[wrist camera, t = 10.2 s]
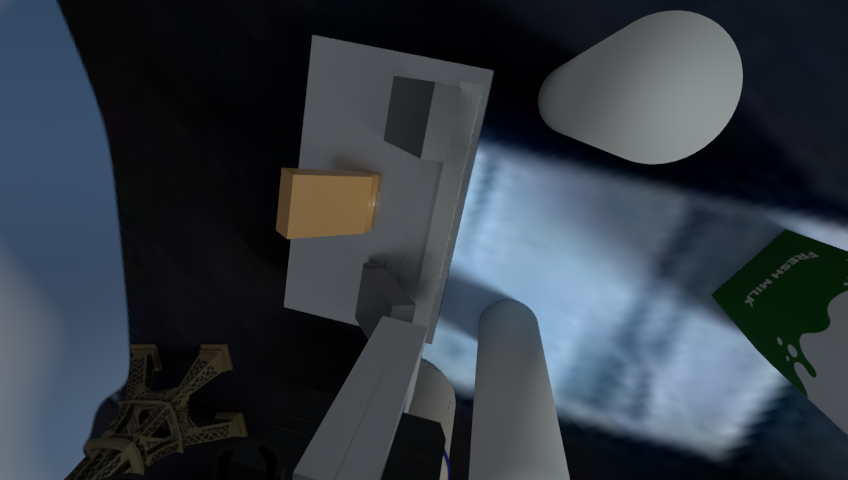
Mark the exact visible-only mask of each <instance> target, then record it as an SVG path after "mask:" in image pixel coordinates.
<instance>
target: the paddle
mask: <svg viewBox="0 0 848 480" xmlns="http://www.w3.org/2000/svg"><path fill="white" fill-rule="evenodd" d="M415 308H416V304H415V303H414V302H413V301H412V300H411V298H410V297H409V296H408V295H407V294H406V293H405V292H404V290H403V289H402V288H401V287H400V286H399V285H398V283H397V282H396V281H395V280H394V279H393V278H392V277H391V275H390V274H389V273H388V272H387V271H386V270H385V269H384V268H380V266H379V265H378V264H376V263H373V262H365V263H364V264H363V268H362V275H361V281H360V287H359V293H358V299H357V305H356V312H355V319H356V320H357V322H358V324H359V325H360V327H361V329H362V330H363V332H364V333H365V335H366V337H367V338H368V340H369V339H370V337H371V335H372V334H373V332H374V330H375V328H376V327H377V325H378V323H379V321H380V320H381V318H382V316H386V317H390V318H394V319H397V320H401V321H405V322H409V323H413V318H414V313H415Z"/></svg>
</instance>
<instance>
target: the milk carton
mask: <svg viewBox="0 0 848 480" xmlns="http://www.w3.org/2000/svg"><path fill="white" fill-rule="evenodd" d="M712 297H713V298H714V299H715V300H716V301H717V303H718V304H719V305H720V306H721V307H722V308H723V310H724V311H725V312H726V313H727V314H728V316H729V317H730V318H731V319H732V320H733V322H734V323H735V324H736V325H737V326H738V328H739V329H740V330H741V331H742V332H743V334H744V335H745V336H746V337H747V339H748V340H749V341H750V342H751V343H752V345H753V346H754V347H755V348H756V349H757V350H758V351H759V352H760V353H761V354H762V355H763V356H764V357H765V358H766V359H767V360H768V361H769V362H770V363H771V364H772V365H773V366H774V367H775V368H776V369H777V370H778V371H779V372H780V373H781V374H782V375H783V376H785V377H786V378H787V379H788V380H789V381H790V382H791V383H792V384H793V385H794V386H795V387H796V388H797V389H798V390H800V391H801V392H802V393H803V394H804V395H805V396H806V397H807V398H808V399H809V400H810V401H811V402H812V403H814V404H815V405H816V406H817V407H818V408H819V409H820V410H821V411H822V412H823V413H824V414H825V415H827V416H828V417H829V418H830V419H831V420H832V421H833V422H834V423H835V424H836V425H837V426H838V427H839V428H841V429H842V430H843V431H844V432H845V433H846V434H848V251H845V250H842V249H839V248H837V247H834V246H831V245H828V244H825V243H823V242H820V241H817V240H814V239H811V238H809V237H806V236H803V235H800V234H797V233H795V232H792V231H789V230H787V229H786V230H785V231H784V232H783V233H781V234H780V235H779V236H778V237H777V238H776V239H775V240H773V241H772V242H771V243H770V244H769V245H768V246H767V247H766V248H764V249H763V250H762V251H761V252H760V253H759V254H758V255H756V256H755V257H754V258H753V259H752V260H751V261H750V262H748V263H747V264H746V265H745V266H744V267H743V268H742V269H741V270H739V271H738V272H737V273H736V274H735V275H734V276H733V277H731V278H730V279H729V280H728V281H727V282H726V283H725V284H724V285H722V286H721V287H720V288H719V289H718V290H717V291H716V292H714V293H713V294H712Z"/></svg>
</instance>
